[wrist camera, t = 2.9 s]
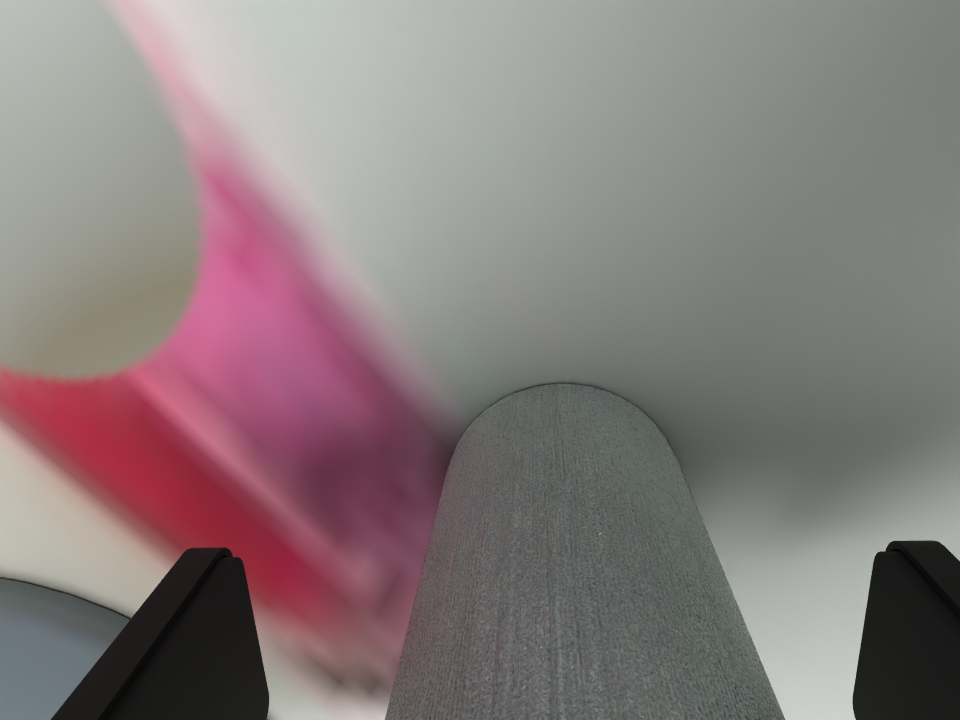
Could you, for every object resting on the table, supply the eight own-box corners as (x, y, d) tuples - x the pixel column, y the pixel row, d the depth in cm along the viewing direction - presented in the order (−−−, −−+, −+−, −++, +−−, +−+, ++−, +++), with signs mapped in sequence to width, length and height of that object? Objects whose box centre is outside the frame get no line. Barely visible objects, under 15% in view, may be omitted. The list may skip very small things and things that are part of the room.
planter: (520, 615, 15) (494, 1606, 5) (403, 448, 13) (64, 1305, 4) (718, 526, 13) (1189, 1572, 4) (608, 337, 12) (876, 1134, 3)
